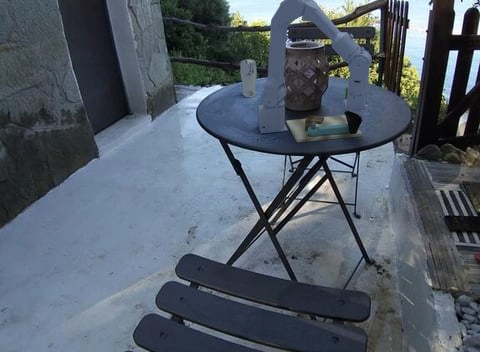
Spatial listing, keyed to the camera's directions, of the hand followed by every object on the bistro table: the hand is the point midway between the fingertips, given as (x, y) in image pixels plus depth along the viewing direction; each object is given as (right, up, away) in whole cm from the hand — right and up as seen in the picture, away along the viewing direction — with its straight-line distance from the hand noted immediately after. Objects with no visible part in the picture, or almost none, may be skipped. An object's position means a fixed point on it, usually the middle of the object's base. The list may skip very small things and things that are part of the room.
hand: (352, 133), depth 121 cm
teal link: (-7, +1, +2) cm, 7 cm away
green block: (+10, +16, +30) cm, 36 cm away
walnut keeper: (-11, +2, +7) cm, 13 cm away
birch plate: (-8, +2, +8) cm, 12 cm away
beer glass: (-33, +22, +45) cm, 60 cm away
